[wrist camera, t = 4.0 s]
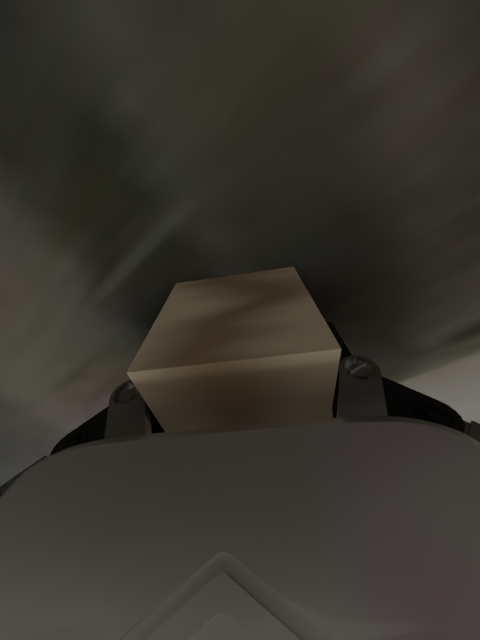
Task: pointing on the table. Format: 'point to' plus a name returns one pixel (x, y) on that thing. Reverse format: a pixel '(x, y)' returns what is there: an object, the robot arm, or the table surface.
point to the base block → (238, 354)
